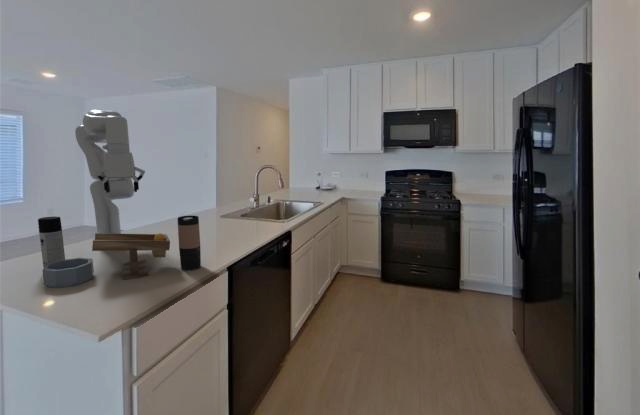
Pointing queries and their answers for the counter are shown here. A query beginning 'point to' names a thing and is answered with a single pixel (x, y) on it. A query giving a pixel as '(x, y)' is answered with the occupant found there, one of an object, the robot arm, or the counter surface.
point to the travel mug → (189, 242)
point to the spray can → (51, 239)
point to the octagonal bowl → (68, 272)
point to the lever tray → (131, 243)
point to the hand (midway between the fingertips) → (122, 191)
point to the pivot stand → (134, 267)
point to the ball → (159, 237)
